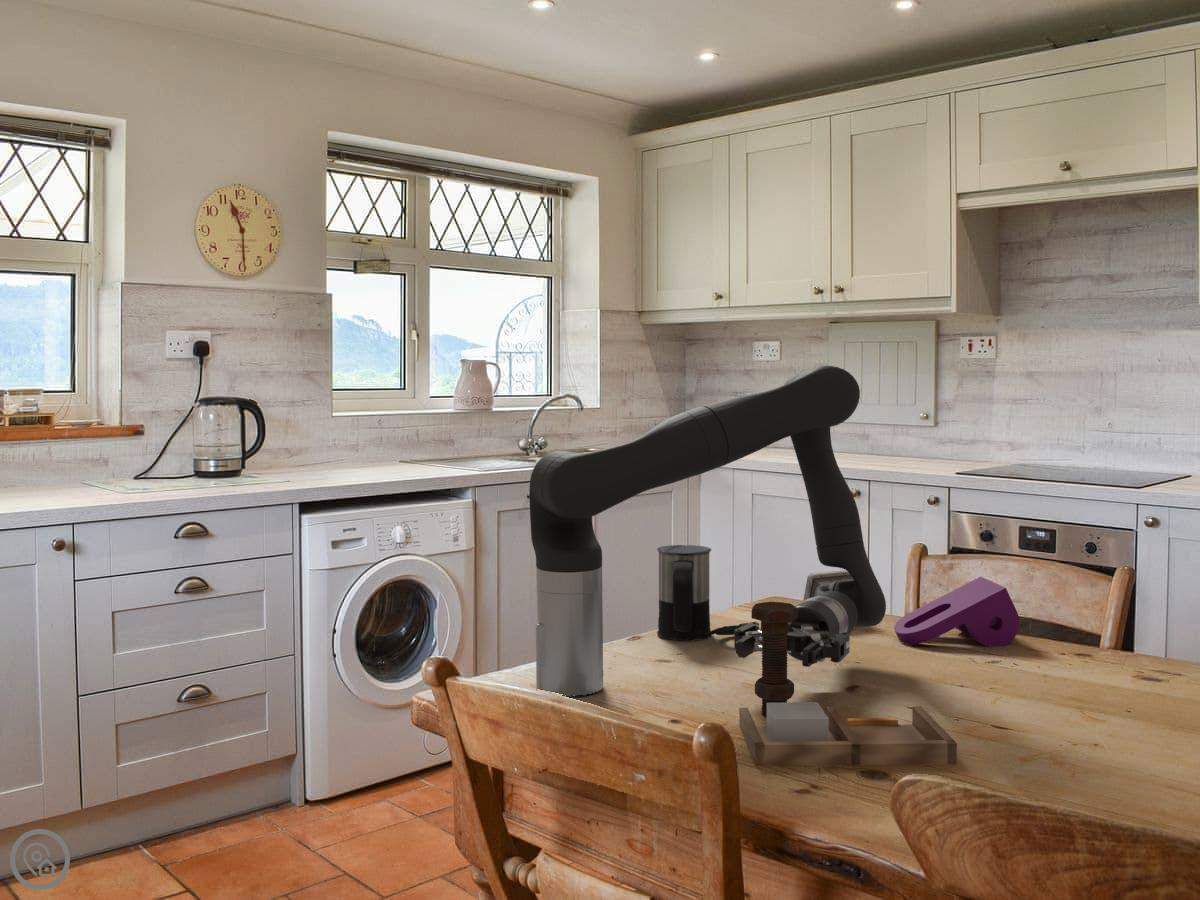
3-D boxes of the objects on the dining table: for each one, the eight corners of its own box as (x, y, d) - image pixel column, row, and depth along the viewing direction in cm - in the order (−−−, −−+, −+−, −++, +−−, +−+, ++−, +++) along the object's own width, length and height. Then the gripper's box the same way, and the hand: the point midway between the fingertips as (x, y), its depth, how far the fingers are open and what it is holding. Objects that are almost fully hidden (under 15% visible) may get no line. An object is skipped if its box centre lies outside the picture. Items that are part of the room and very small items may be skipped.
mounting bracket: (928, 685, 170) (1027, 634, 171) (906, 638, 170) (1006, 587, 170) (906, 668, 180) (1001, 620, 180) (886, 624, 179) (980, 576, 180)
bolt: (793, 716, 137) (793, 601, 136) (801, 729, 132) (802, 609, 131) (747, 717, 136) (748, 601, 135) (754, 730, 131) (755, 610, 130)
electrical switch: (842, 616, 192) (845, 566, 191) (860, 625, 188) (863, 574, 186) (798, 622, 188) (801, 571, 187) (815, 631, 184) (819, 579, 182)
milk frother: (651, 630, 183) (650, 544, 182) (738, 625, 186) (738, 541, 185) (672, 651, 169) (672, 558, 168) (766, 645, 172) (767, 554, 171)
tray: (755, 776, 117) (755, 745, 116) (738, 733, 130) (738, 705, 130) (956, 774, 117) (956, 743, 116) (918, 732, 130) (918, 704, 130)
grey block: (775, 754, 120) (775, 719, 120) (766, 735, 126) (766, 702, 126) (828, 753, 120) (828, 718, 120) (817, 735, 126) (817, 702, 126)
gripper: (765, 595, 150) (719, 618, 136) (865, 605, 143) (828, 631, 129) (765, 647, 151) (719, 676, 136) (865, 660, 143) (827, 692, 129)
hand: (772, 654), depth 133 cm, fingers open, 8 cm apart
